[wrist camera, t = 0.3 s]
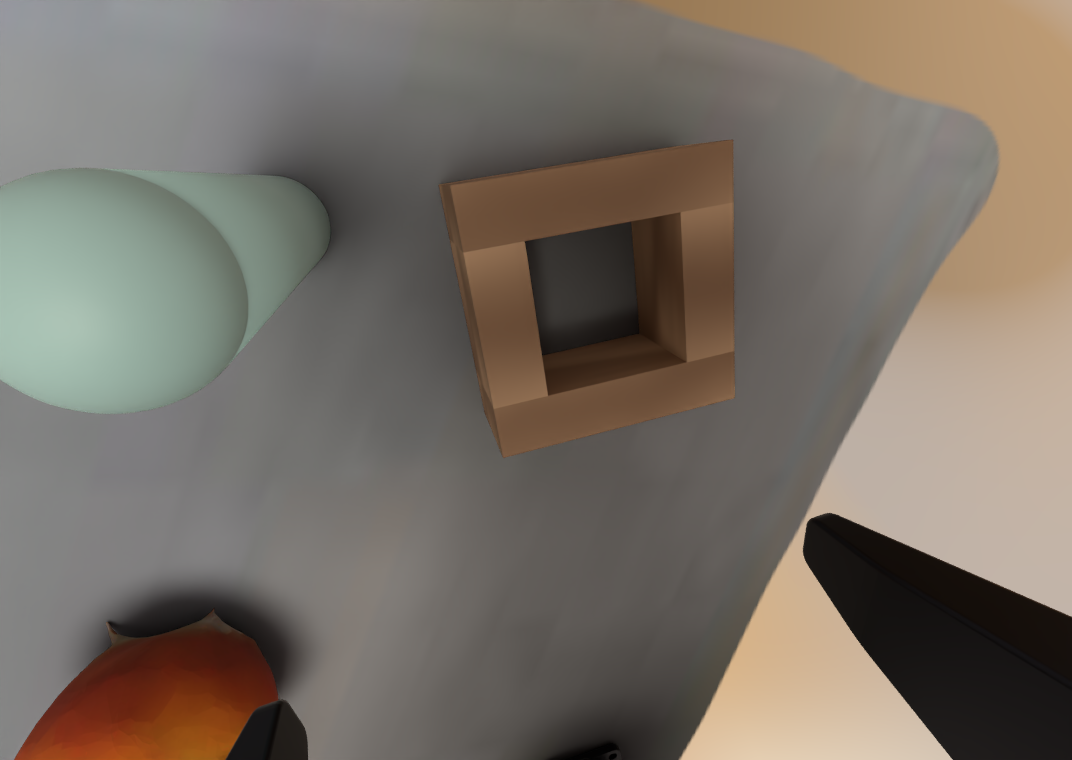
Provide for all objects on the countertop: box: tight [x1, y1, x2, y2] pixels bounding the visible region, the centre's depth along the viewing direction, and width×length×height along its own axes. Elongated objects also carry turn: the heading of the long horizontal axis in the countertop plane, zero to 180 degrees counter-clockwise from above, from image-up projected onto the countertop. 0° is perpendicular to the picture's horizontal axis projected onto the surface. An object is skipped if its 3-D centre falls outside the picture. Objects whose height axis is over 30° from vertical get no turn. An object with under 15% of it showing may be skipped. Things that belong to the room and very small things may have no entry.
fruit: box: [14, 609, 278, 760], centre depth 20 cm, size 8×8×8 cm
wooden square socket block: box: [439, 140, 735, 458], centre depth 20 cm, size 9×9×4 cm
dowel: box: [0, 168, 331, 414], centre depth 12 cm, size 3×3×14 cm
